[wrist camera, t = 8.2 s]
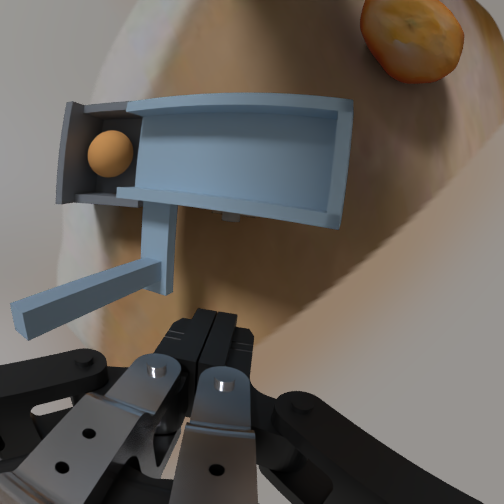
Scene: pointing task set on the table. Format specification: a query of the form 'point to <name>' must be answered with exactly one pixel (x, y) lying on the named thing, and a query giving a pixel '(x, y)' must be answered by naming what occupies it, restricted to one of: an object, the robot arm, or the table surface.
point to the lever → (213, 183)
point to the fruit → (412, 38)
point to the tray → (76, 154)
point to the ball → (110, 153)
